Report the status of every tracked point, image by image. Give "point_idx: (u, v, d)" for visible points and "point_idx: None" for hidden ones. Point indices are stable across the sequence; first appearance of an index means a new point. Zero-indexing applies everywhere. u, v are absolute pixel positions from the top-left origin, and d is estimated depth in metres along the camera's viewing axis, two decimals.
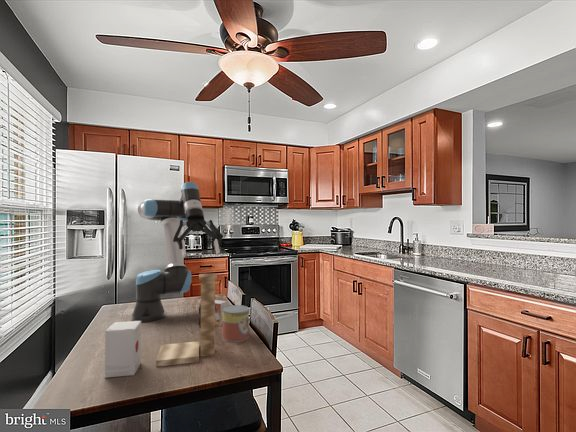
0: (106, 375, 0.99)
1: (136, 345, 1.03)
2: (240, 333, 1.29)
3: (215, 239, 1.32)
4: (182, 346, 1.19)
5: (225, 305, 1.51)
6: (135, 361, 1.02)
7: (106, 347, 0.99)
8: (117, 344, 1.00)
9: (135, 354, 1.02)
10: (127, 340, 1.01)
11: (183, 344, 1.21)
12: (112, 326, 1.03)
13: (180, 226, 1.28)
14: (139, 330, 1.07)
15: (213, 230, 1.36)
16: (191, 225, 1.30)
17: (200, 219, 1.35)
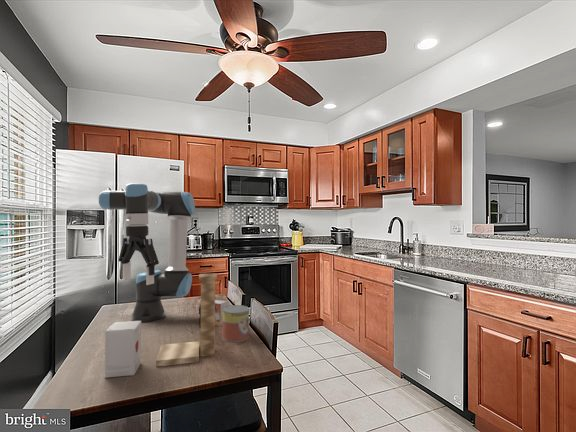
0: (106, 375, 0.99)
1: (136, 345, 1.03)
2: (240, 333, 1.29)
3: None
4: (182, 346, 1.19)
5: (225, 305, 1.51)
6: (135, 361, 1.02)
7: (106, 347, 0.99)
8: (117, 344, 1.00)
9: (135, 354, 1.02)
10: (127, 340, 1.01)
11: (183, 344, 1.21)
12: (112, 326, 1.03)
13: (123, 246, 1.20)
14: (139, 330, 1.07)
15: None
16: (129, 247, 1.17)
17: (137, 238, 1.15)
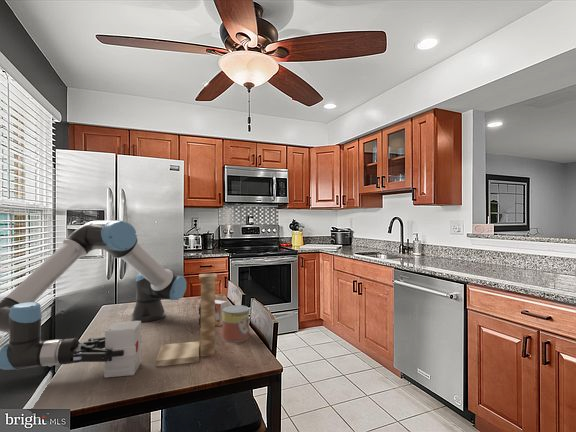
0: (106, 375, 0.99)
1: (136, 345, 1.03)
2: (240, 333, 1.29)
3: (114, 356, 0.99)
4: (182, 346, 1.19)
5: (225, 305, 1.51)
6: (135, 361, 1.02)
7: (106, 347, 0.99)
8: (117, 344, 1.00)
9: None
10: (127, 340, 1.00)
11: (183, 344, 1.21)
12: (112, 326, 1.03)
13: None
14: (139, 330, 1.07)
15: None
16: None
17: None
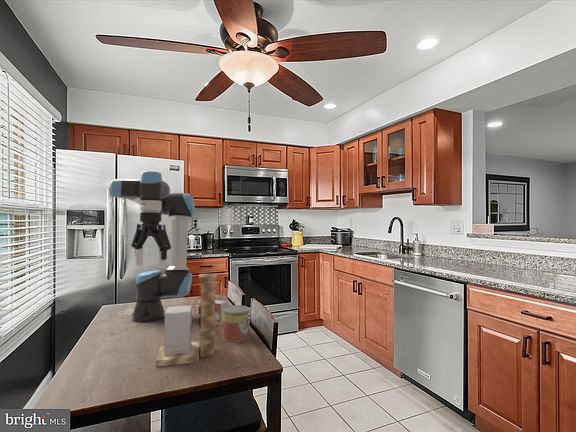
0: (166, 353, 1.11)
1: (190, 326, 1.15)
2: (240, 333, 1.29)
3: None
4: None
5: (225, 305, 1.51)
6: (190, 341, 1.14)
7: (165, 328, 1.11)
8: (175, 325, 1.12)
9: (190, 334, 1.14)
10: (184, 321, 1.12)
11: None
12: (169, 310, 1.15)
13: (136, 232, 1.24)
14: (191, 314, 1.19)
15: None
16: (142, 232, 1.21)
17: (151, 223, 1.19)
